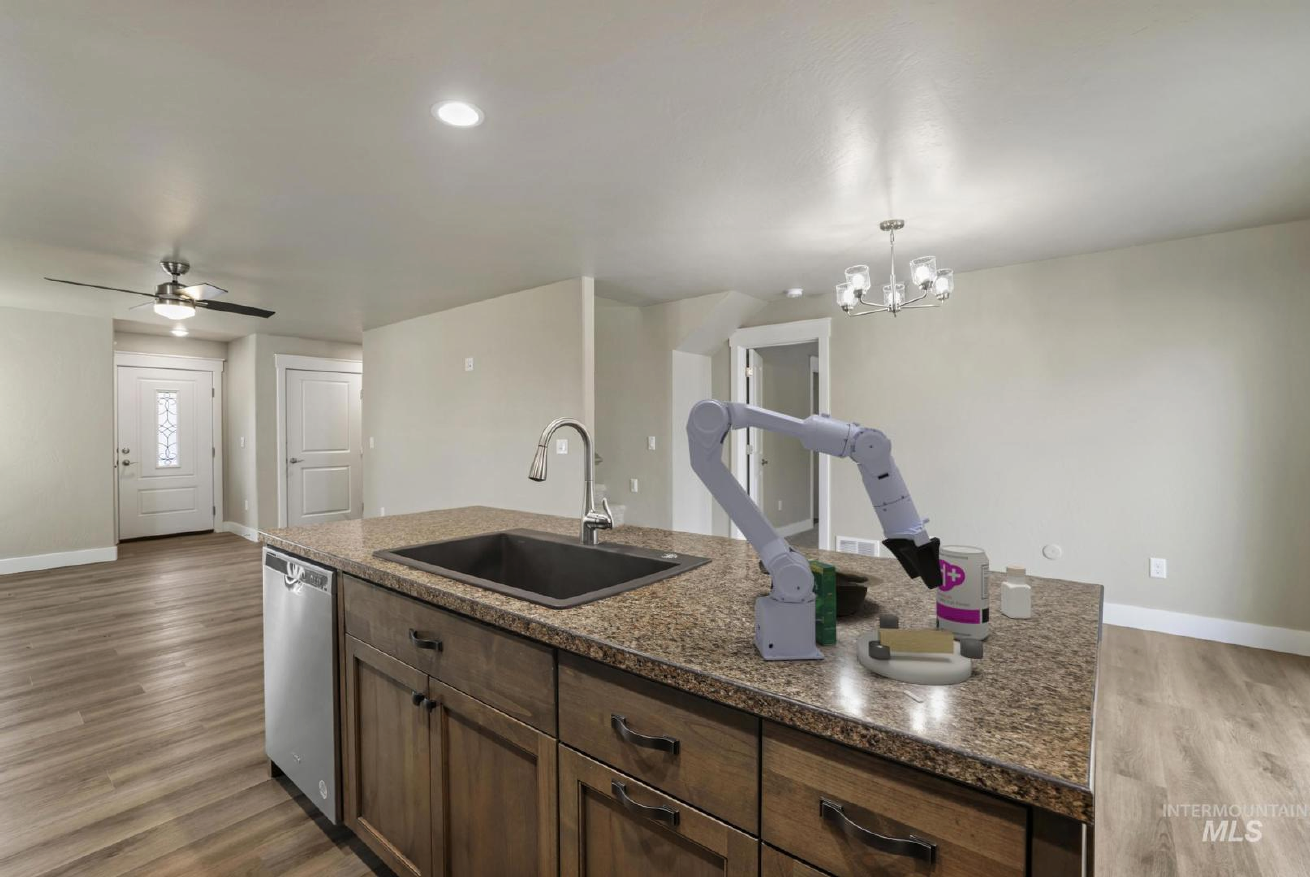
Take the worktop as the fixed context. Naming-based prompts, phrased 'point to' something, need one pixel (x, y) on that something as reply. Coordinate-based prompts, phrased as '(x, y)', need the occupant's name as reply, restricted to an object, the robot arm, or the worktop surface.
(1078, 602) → the worktop surface
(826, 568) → the coffee box
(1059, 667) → the worktop surface
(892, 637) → the lever
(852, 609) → the stone bowl
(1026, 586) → the salt shaker
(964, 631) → the supplement can
